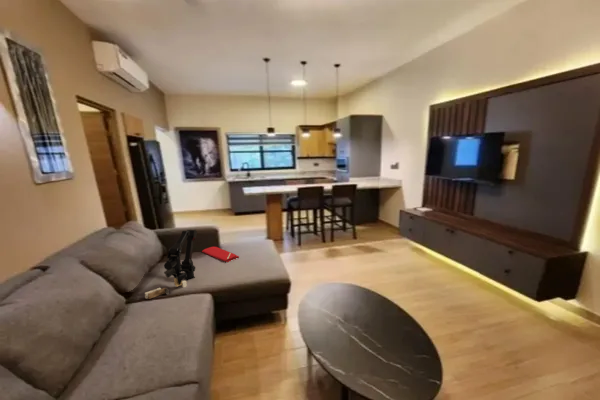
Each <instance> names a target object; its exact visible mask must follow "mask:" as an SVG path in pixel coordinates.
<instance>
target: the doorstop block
mask: <svg viewBox="0 0 600 400" xmlns="http://www.w3.org/2000/svg"><path fill="white" fill-rule="evenodd" d="M173 283H174V286H175V287H179V286H182V282H181V284H180V285H179V284H178V280H177V279H176V278H174V277H173Z"/></svg>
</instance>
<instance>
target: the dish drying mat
mask: <svg viewBox="0 0 600 400" xmlns="http://www.w3.org/2000/svg"><path fill="white" fill-rule="evenodd" d="M201 252H202V253H203V254H206V255H207V256H210V257H213V258H214V259H217V260H220V261H222V262H225V263H229V261H230V262H232V261H231V260H233V259H235V260H237V259H236V258H238V259H239V258H240V256H239V255H237V254H235V253H233V252H230V251H228V250H226V249H223V248H220V247H218V246H210V247H206V248H204V249H203V250H202V251H201ZM233 261H234V260H233Z"/></svg>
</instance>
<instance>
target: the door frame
mask: <svg viewBox="0 0 600 400" xmlns="http://www.w3.org/2000/svg"><path fill="white" fill-rule="evenodd" d="M187 281H188V280H186V279H185V280H182V285H181V287H182V288H186V287H187V286H188V284H187V283H188V282H187ZM160 289H162V288H161V287H158V288H154V289H151V290H148V291H146V292H144V298H145V299H147V300H148V294H149V293H152V292H155V291H158V290H160Z"/></svg>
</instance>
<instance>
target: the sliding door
mask: <svg viewBox="0 0 600 400" xmlns="http://www.w3.org/2000/svg"><path fill="white" fill-rule="evenodd" d="M164 294H166V295H169V294H170V290H169V289H168V288H167V287H164V288H161V289H160V290H158V291H155V292H152V293H149V294H148V298H147V300H148V299H149V300H150V299H152V298H153V299H154V298H155V297H156V298H157V297H159V296H162V295H164Z"/></svg>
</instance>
